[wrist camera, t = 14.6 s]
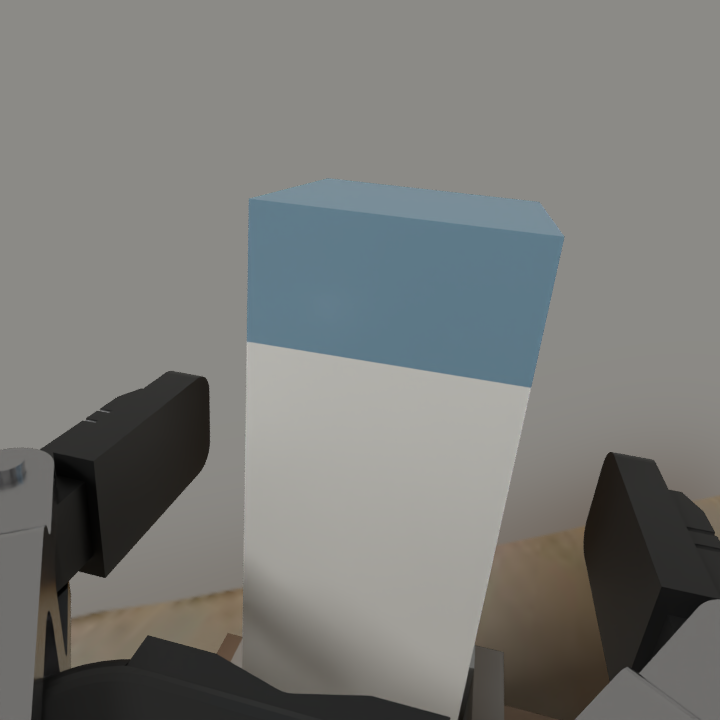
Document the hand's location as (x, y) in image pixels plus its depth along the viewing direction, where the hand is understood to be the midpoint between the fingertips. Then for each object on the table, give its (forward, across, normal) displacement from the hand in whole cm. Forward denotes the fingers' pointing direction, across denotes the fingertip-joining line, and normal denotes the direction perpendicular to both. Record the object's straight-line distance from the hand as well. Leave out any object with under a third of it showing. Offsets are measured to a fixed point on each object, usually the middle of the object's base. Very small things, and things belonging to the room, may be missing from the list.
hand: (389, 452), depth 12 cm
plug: (-1, 0, +10) cm, 10 cm away
